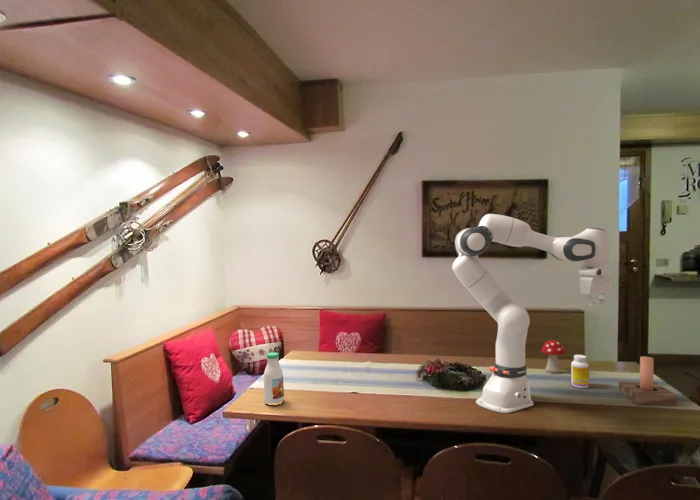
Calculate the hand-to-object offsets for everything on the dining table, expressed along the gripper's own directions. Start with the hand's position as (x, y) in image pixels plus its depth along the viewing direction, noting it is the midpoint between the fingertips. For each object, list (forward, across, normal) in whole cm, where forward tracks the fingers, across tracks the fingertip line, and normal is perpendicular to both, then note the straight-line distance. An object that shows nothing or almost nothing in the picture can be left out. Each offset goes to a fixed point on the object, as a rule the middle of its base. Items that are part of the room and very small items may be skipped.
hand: (596, 304), depth 172 cm
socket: (+37, -14, +13) cm, 42 cm away
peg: (+37, -14, +13) cm, 42 cm away
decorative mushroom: (+37, -18, -26) cm, 49 cm away
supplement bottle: (+37, -9, -10) cm, 40 cm away
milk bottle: (+38, +97, -83) cm, 133 cm away
